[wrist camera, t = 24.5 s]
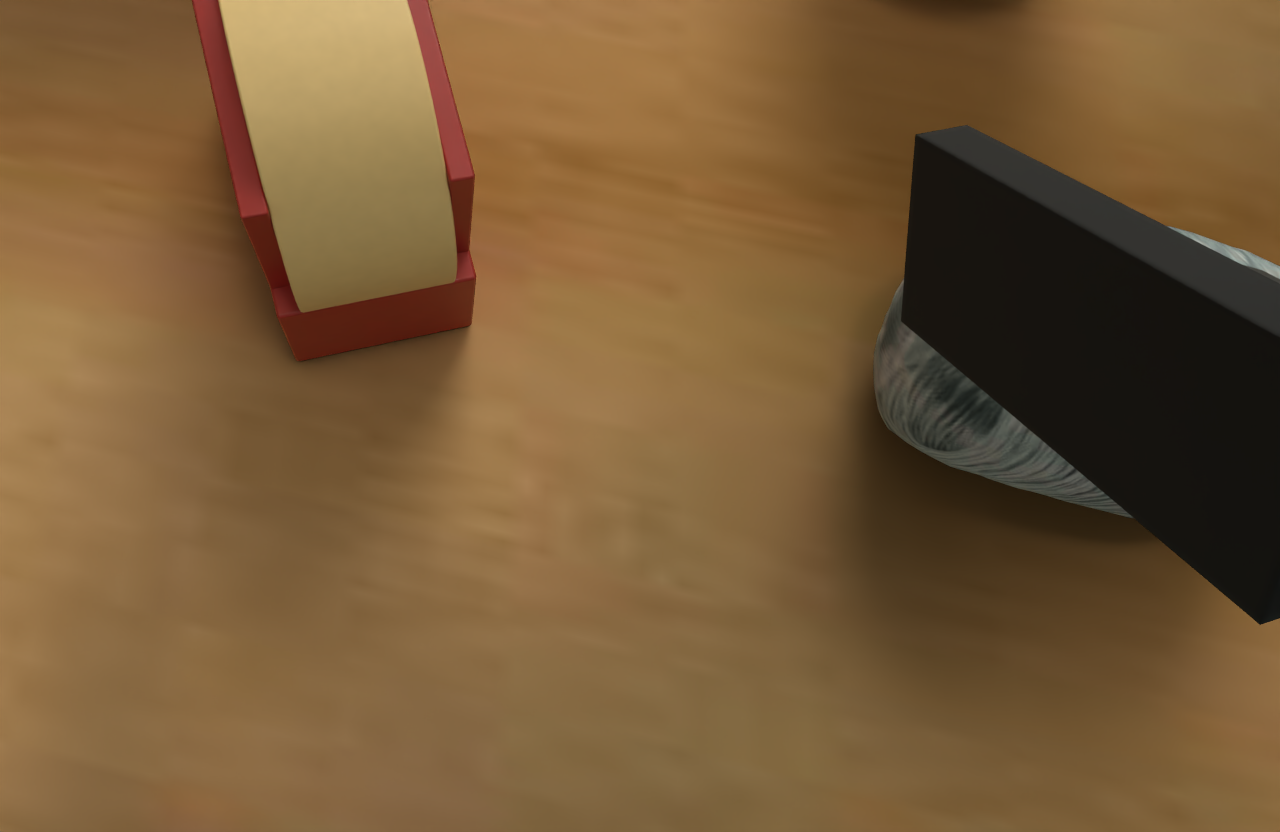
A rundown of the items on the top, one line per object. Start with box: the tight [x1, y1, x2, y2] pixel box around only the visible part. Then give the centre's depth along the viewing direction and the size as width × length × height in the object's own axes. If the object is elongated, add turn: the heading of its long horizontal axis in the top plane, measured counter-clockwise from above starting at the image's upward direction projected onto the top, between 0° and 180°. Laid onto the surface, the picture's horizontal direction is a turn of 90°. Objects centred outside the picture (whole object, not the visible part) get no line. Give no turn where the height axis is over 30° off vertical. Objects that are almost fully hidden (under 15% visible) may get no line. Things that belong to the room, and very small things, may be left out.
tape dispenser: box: [192, 0, 476, 361], centre depth 28 cm, size 5×9×10 cm, turn 16°
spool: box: [873, 226, 1280, 518], centre depth 31 cm, size 14×10×10 cm
